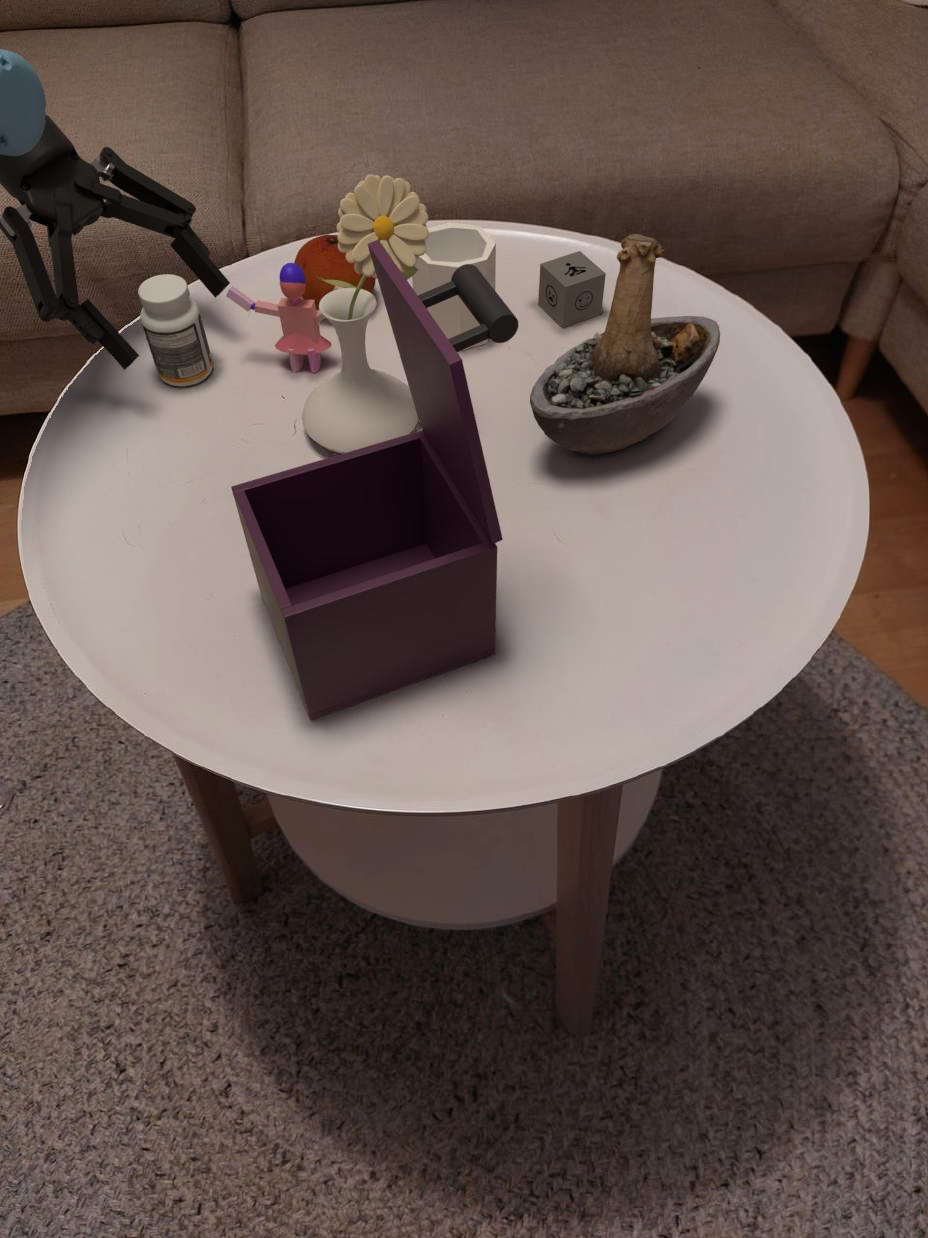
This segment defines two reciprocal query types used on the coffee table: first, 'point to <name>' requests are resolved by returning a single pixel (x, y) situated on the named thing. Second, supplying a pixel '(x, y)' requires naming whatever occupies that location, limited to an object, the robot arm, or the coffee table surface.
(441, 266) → the mug
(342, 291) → the flower in vase
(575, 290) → the dice cube
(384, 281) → the lid
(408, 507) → the chest
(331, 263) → the fruit
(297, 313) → the figurine
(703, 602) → the coffee table surface
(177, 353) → the pill bottle
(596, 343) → the planter
